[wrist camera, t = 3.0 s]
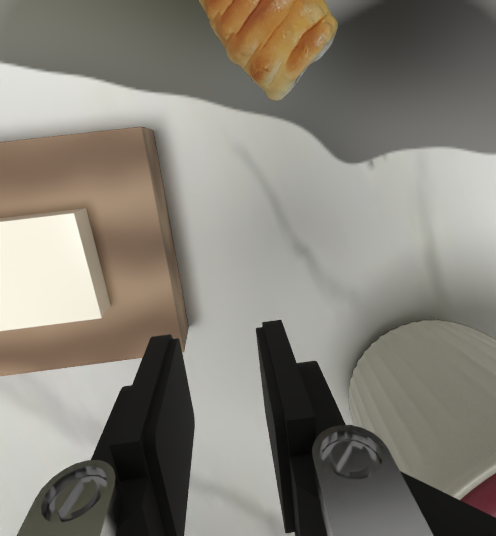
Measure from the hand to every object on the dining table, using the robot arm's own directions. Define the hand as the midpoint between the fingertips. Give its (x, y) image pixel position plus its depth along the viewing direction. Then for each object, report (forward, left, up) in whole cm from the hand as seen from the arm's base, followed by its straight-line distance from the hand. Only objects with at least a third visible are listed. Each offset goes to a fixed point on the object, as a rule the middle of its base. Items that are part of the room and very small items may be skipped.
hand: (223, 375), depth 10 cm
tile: (0, +12, -15) cm, 19 cm away
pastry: (+13, -5, -20) cm, 24 cm away
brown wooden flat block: (0, +13, -19) cm, 23 cm away
